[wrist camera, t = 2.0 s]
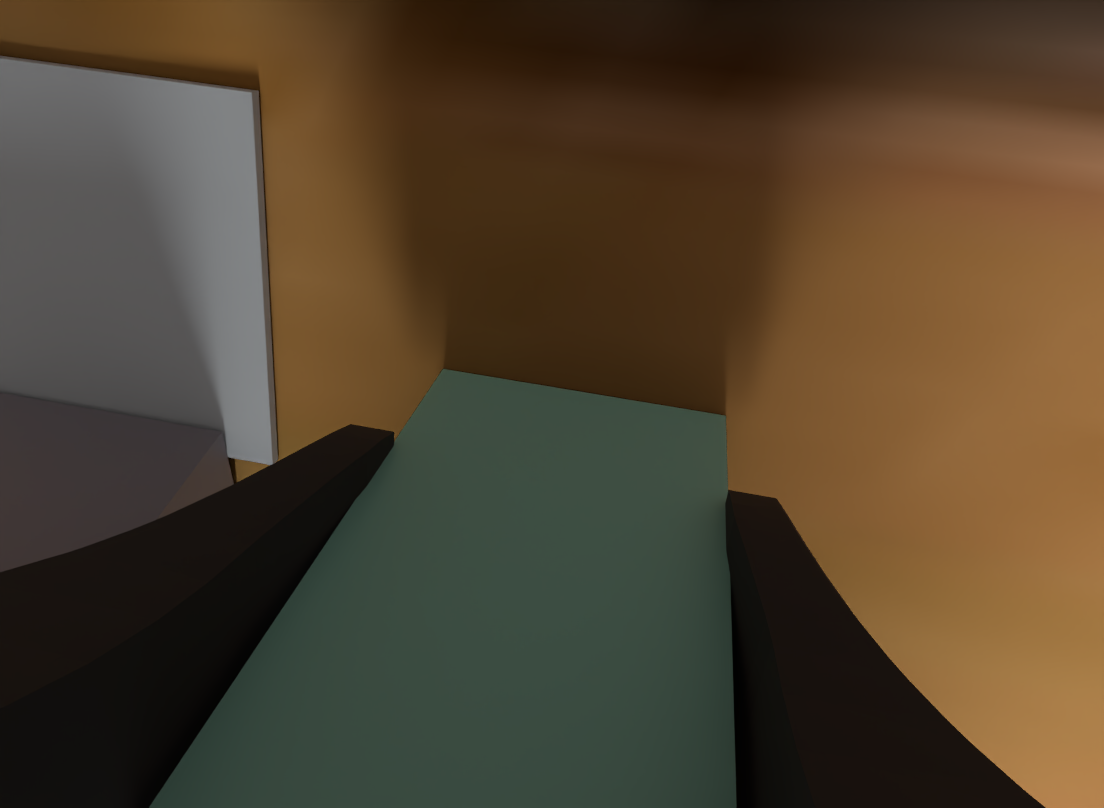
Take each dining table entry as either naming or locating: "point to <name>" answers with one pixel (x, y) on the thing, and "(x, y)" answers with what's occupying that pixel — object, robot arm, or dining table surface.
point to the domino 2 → (500, 622)
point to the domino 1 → (94, 475)
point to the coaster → (136, 249)
